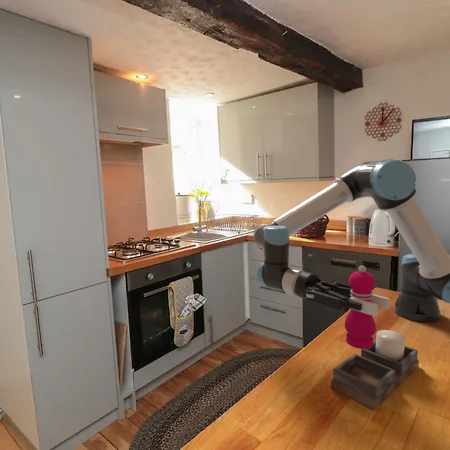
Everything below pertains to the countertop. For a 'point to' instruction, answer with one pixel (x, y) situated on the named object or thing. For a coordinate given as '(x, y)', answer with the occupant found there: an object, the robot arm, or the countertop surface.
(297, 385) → the countertop surface
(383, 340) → the white glossy dome
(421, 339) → the countertop surface
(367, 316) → the pepper mill
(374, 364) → the two-compartment tray
